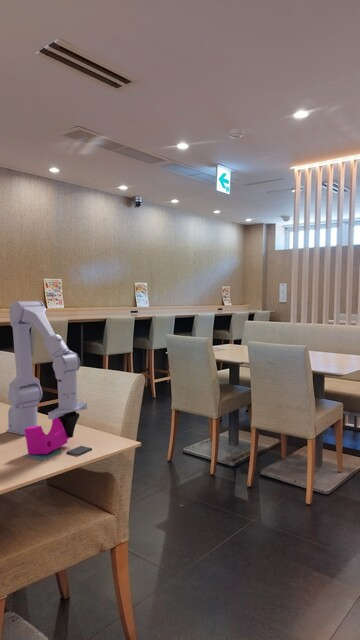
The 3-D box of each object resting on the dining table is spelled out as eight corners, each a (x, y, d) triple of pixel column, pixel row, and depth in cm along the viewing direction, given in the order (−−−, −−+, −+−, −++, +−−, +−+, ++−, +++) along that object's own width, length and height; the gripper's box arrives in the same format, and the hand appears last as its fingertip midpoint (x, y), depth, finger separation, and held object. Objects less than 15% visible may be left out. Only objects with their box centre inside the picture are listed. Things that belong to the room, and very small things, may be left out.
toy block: (46, 453, 130) (42, 427, 130) (28, 454, 132) (24, 428, 132) (76, 438, 144) (72, 414, 144) (59, 439, 146) (56, 415, 146)
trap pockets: (29, 444, 141) (29, 443, 141) (44, 439, 146) (44, 437, 146) (77, 456, 131) (77, 454, 131) (92, 449, 136) (92, 448, 136)
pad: (21, 456, 131) (21, 456, 131) (44, 447, 139) (44, 447, 139) (41, 461, 127) (41, 461, 127) (63, 452, 134) (63, 451, 134)
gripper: (59, 399, 132) (61, 445, 133) (93, 389, 144) (95, 432, 145) (42, 396, 136) (44, 442, 136) (77, 388, 148) (78, 429, 149)
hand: (69, 437), depth 141 cm, fingers closed, pressing on toy block
